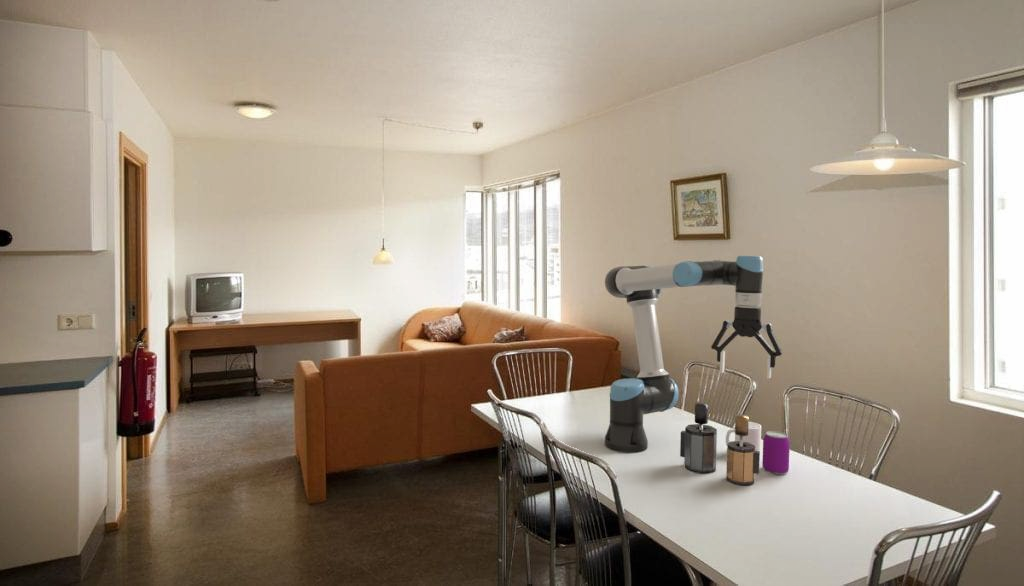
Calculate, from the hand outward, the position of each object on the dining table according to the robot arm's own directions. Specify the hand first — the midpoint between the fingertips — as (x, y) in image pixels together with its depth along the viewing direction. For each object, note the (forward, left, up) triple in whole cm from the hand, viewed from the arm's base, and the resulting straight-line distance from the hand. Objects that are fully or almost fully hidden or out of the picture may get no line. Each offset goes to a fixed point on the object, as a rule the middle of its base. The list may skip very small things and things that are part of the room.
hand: (744, 375), depth 183 cm
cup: (-4, +20, -32) cm, 38 cm away
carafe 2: (0, -5, -32) cm, 32 cm away
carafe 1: (-13, -1, -32) cm, 34 cm away
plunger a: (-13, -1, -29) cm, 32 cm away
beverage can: (+8, +9, -32) cm, 34 cm away
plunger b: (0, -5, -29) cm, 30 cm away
